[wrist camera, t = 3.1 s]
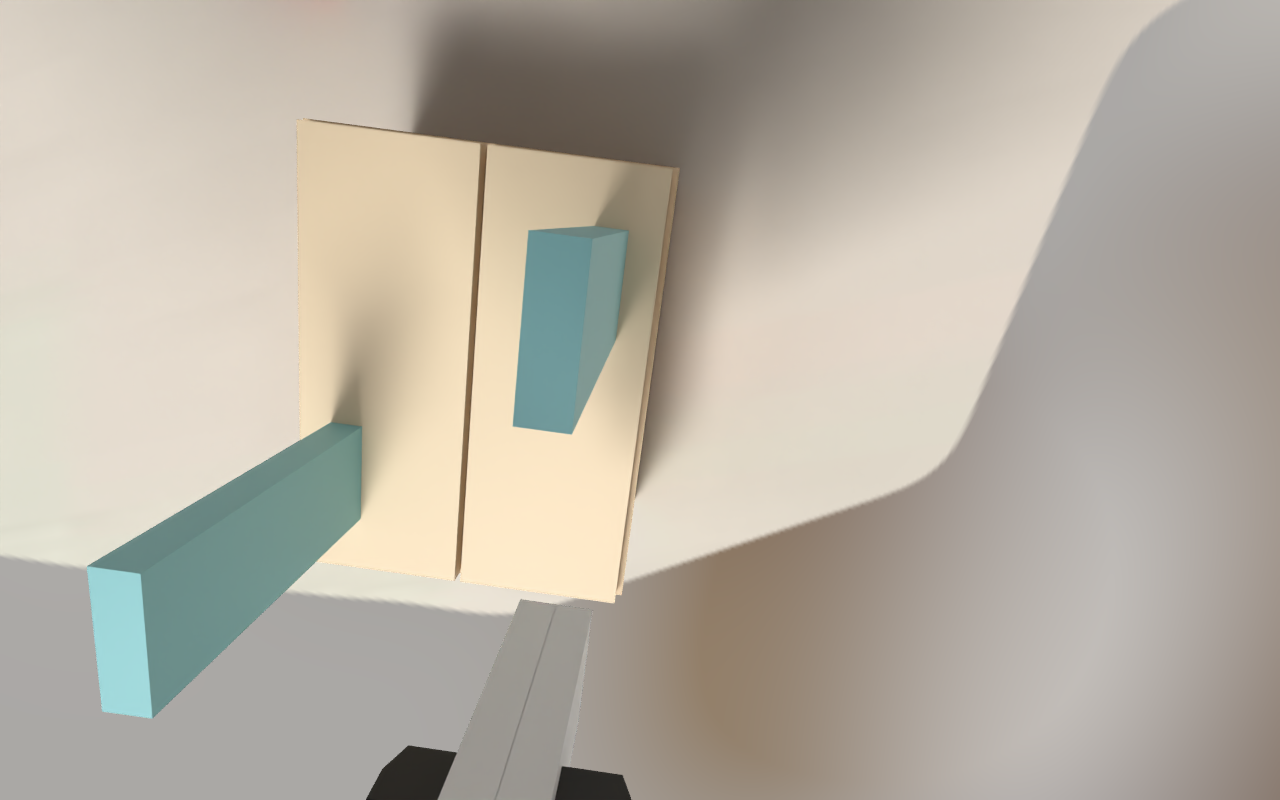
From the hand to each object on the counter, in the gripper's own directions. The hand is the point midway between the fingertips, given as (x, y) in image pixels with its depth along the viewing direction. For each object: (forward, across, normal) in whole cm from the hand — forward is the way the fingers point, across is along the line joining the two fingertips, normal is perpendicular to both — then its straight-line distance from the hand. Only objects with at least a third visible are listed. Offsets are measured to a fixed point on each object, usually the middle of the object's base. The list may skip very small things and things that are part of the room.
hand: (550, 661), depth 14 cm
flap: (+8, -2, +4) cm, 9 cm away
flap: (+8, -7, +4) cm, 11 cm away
